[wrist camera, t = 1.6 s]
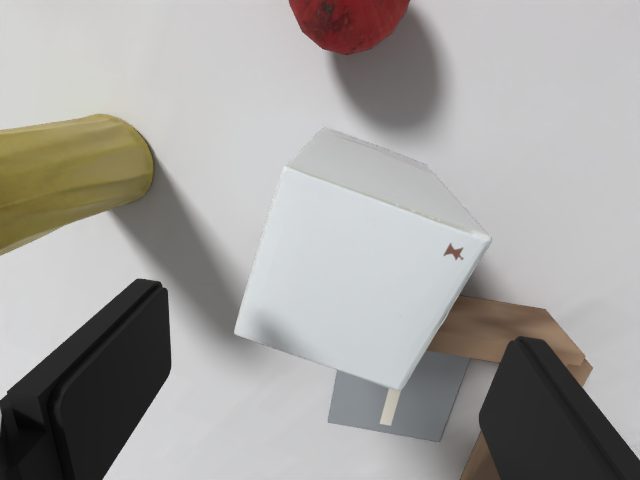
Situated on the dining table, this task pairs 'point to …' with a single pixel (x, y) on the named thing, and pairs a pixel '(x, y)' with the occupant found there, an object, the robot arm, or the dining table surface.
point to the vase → (67, 174)
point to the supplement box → (358, 260)
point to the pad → (402, 399)
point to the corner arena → (500, 350)
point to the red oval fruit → (348, 22)
